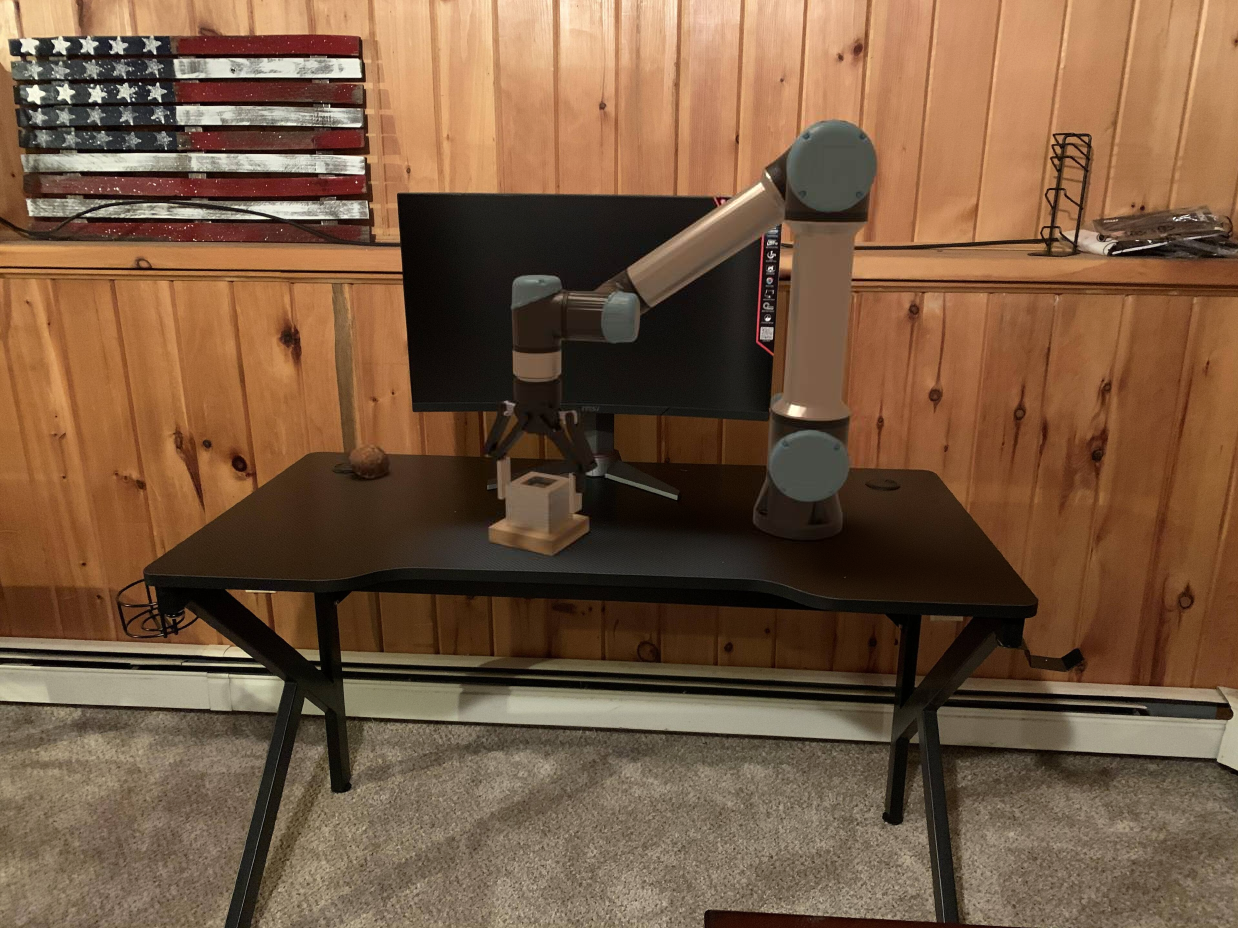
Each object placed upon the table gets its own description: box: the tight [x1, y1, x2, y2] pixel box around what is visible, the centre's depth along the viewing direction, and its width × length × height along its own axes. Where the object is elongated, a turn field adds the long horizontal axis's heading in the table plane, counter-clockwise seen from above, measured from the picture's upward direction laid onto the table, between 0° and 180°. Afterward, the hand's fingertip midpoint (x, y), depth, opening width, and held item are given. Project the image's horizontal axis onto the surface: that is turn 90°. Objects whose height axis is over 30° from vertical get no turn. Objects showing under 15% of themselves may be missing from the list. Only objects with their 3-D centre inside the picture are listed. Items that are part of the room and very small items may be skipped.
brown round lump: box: [348, 443, 390, 479], centre depth 181 cm, size 8×8×6 cm
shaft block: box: [488, 483, 590, 557], centre depth 151 cm, size 12×12×8 cm
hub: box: [505, 471, 573, 535], centre depth 151 cm, size 8×8×7 cm
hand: (539, 503), depth 151 cm, fingers open, 13 cm apart
